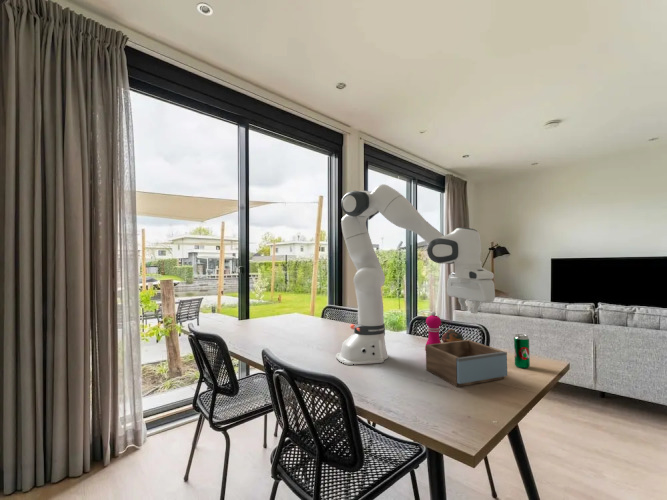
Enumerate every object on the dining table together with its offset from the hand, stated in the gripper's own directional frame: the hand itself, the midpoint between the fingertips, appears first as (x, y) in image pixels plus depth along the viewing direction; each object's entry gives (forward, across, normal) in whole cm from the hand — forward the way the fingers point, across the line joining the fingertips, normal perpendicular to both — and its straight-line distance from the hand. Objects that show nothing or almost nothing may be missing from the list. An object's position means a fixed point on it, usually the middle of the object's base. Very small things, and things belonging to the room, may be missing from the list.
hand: (469, 312), depth 115 cm
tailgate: (+22, +5, 0) cm, 22 cm away
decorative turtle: (+23, -32, +18) cm, 43 cm away
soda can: (+23, -2, +26) cm, 35 cm away
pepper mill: (+23, -21, 0) cm, 31 cm away
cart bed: (+23, -4, 0) cm, 23 cm away
